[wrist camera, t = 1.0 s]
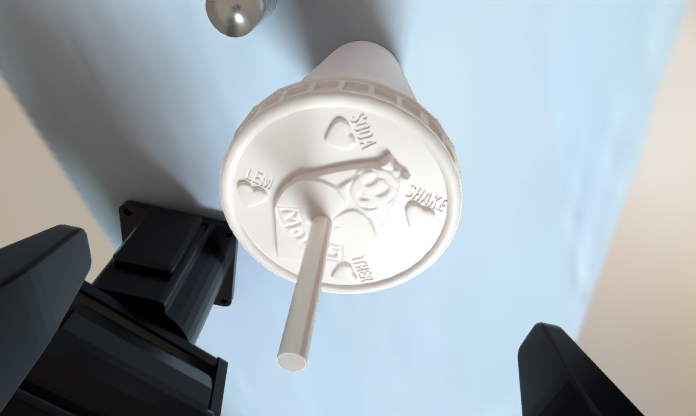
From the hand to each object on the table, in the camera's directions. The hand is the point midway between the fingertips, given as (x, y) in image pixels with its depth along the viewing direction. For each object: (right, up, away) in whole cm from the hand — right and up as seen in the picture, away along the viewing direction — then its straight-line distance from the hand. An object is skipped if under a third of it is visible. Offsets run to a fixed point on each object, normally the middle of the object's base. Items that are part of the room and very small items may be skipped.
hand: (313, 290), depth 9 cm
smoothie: (+1, +7, +11) cm, 13 cm away
